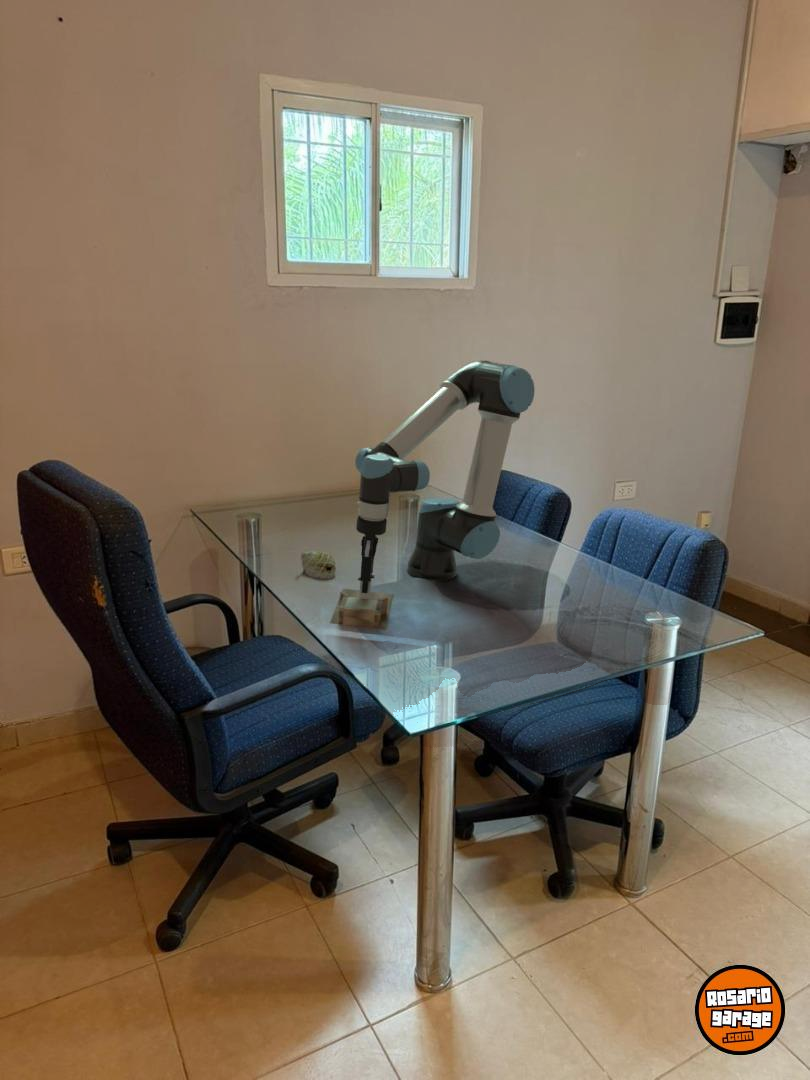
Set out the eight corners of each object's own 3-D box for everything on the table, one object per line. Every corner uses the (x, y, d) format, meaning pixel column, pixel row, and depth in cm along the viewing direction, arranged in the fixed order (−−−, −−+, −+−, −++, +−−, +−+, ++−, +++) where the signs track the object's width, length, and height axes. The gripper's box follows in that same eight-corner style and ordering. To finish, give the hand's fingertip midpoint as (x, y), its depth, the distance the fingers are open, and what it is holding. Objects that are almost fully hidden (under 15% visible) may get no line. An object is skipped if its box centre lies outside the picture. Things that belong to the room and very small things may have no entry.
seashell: (336, 583, 211) (321, 551, 208) (305, 592, 213) (291, 561, 211) (344, 569, 220) (330, 539, 217) (315, 578, 223) (301, 548, 220)
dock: (393, 598, 206) (395, 580, 204) (385, 634, 184) (387, 613, 182) (342, 592, 206) (344, 573, 205) (329, 627, 185) (331, 606, 183)
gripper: (360, 507, 195) (352, 591, 202) (354, 522, 182) (346, 610, 190) (389, 511, 194) (380, 594, 202) (384, 526, 182) (375, 614, 189)
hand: (363, 602), depth 196 cm, fingers closed
